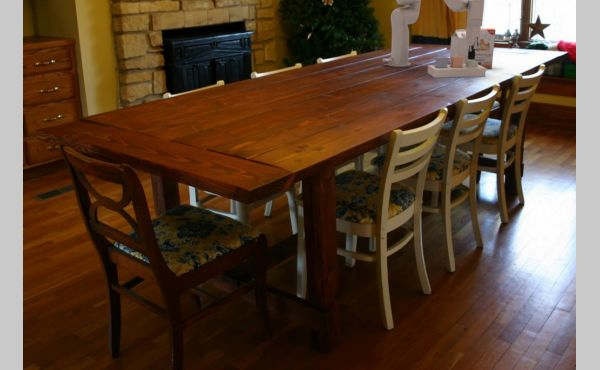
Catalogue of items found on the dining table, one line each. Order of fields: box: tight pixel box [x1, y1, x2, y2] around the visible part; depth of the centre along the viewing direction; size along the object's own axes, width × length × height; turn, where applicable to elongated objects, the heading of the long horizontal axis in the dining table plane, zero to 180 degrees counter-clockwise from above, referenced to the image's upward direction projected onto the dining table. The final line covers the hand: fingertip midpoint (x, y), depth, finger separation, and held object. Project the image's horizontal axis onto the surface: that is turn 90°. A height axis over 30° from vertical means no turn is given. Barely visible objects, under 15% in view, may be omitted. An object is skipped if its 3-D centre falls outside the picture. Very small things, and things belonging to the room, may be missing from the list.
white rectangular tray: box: [427, 64, 487, 79], centre depth 320 cm, size 26×14×4 cm, turn 94°
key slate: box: [434, 56, 449, 68], centre depth 318 cm, size 5×5×5 cm
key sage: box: [466, 61, 478, 67], centre depth 320 cm, size 5×5×5 cm
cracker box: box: [465, 27, 496, 70], centre depth 335 cm, size 14×6×21 cm, turn 82°
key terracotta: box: [449, 56, 463, 68], centre depth 319 cm, size 5×5×5 cm
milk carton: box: [449, 28, 467, 64], centre depth 350 cm, size 7×7×19 cm
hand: (471, 59), depth 319 cm, fingers closed
